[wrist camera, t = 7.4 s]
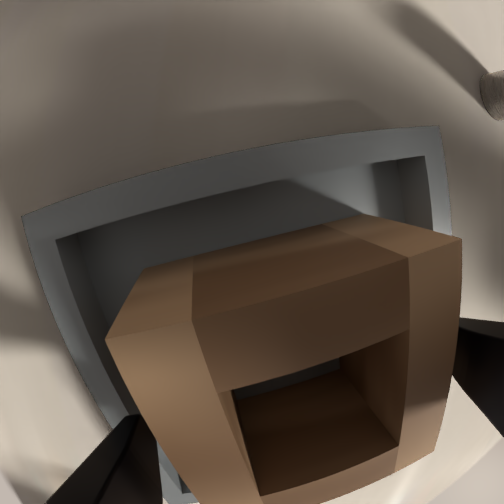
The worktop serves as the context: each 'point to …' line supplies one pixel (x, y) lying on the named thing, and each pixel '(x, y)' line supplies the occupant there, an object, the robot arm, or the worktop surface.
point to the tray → (218, 233)
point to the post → (493, 93)
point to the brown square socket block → (295, 358)
